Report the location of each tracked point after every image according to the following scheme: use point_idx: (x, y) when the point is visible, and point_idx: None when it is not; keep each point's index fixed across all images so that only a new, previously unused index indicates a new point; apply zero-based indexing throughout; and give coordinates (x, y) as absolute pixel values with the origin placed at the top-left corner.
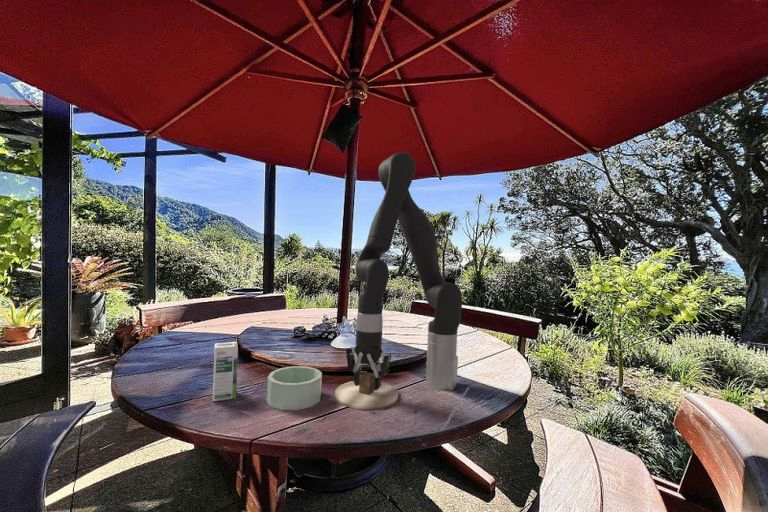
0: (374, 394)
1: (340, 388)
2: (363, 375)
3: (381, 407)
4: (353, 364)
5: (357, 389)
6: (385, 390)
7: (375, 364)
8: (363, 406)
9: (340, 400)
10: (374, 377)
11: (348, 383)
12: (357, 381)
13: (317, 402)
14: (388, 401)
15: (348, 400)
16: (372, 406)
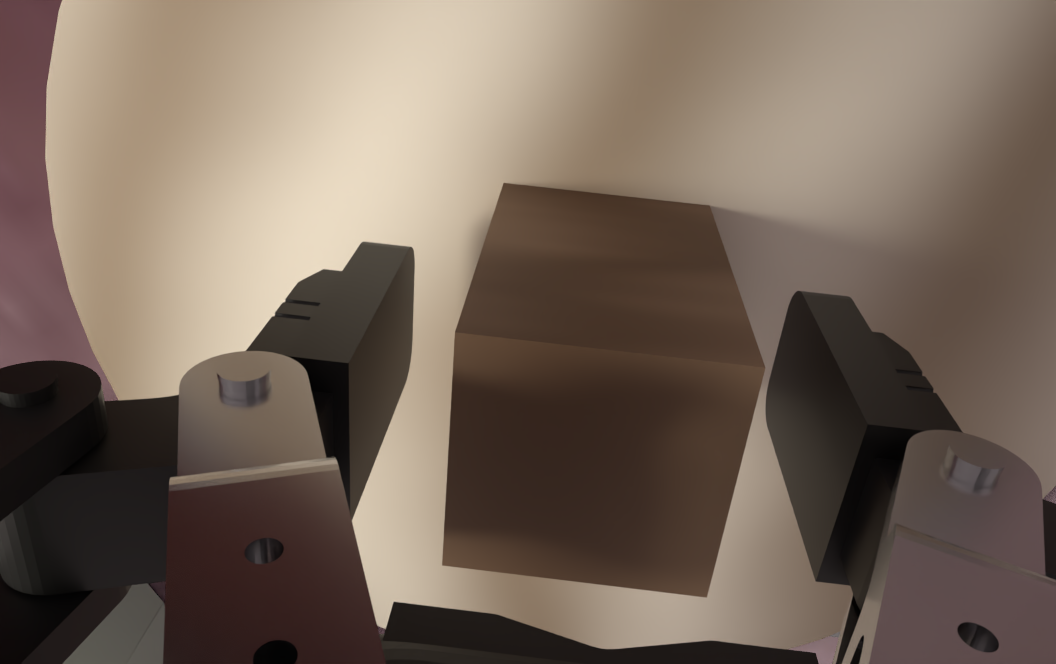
0: (757, 331)
1: (144, 333)
2: (531, 556)
3: None
4: (55, 507)
5: None
6: (921, 78)
7: (864, 636)
8: None
9: (383, 622)
10: (824, 580)
11: (106, 76)
12: (393, 396)
13: (155, 645)
14: (1036, 465)
15: (478, 609)
16: (827, 632)
